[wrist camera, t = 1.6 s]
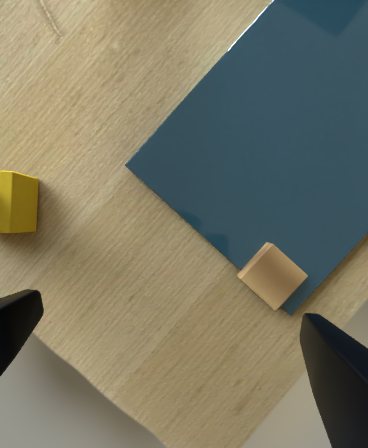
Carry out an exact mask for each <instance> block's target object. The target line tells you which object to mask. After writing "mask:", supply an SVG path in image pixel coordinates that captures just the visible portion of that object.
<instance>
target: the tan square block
mask: <svg viewBox="0 0 368 448" xmlns="http://www.w3.org/2000/svg"><path fill="white" fill-rule="evenodd" d="M237 276H238V277H239V278H240V280H242V281H243V282H244V283H245V284H246V285H247V286H248V287H249V288H250V289H251V290H253V291H254V292H255V293H256V294H257V295H258V296H259V297H260V298H261V299H262V300H264V301H265V302H266V303H267V304H268V305H269V306H270V307H271V308H272V309H273V310H275V311H276V310H277V309H278V308H279V307H280V306H281V305H282V304H283V303H284V302H285V301H286V299H287V298H288V297H289V296H290V295H291V294H292V293H293V292H294V291H295V290H296V289H297V288H298V286H299V285H300V284H301V283H302V282H303V281H304V280H305V279H306V278H307V277H308V275H307V274H306V273H305V272H303V271H302V270H301V269H300V268H299V267H298V266H297V265H296V264H295V263H294V262H292V261H291V260H290V259H289V258H288V257H287V256H286V255H285V254H284V253H283V252H281V251H280V250H279V249H278V248H277V247H276V246H275V245H274V244H272V243H268V242H267V243H266V244H265V245H264V246H263V247H262V248H261V249H260V250H259V251H258V252H257V253H256V254H255V256H254V257H253V258H252V259H251V260H250V261H249V262H248V263H247V264H246V265H245V266H244V268H243V269H242V270H241V271H240V272H239V273H238V274H237Z"/></svg>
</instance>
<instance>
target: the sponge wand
mask: <svg viewBox="0 0 368 448" xmlns="http://www.w3.org/2000/svg"><path fill="white" fill-rule="evenodd" d="M38 187H39V179H38V178H34V177H31V176H27V175H24V174H20V173H17V172H13V171H0V233H22V232H35V231H36V226H37V206H38Z"/></svg>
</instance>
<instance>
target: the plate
mask: <svg viewBox="0 0 368 448" xmlns="http://www.w3.org/2000/svg"><path fill="white" fill-rule="evenodd" d="M125 166H126V167H127V168H129V169H130V170H131V171H132V172H133V173H134V174H135V175H136V176H137V177H138V178H140V179H141V180H142V181H143V182H144V183H145V184H146V185H147V186H148V187H149V188H151V189H152V190H153V191H154V192H155V193H156V194H157V195H158V196H159V197H160V198H162V199H163V200H164V201H165V202H166V203H167V204H168V205H169V206H170V207H171V208H173V209H174V210H175V211H176V212H177V213H178V214H179V215H180V216H181V217H182V218H183V219H185V220H186V221H187V222H188V223H189V224H190V225H191V226H192V227H193V228H194V229H196V230H197V231H198V232H199V233H200V234H201V235H202V236H203V237H204V238H205V239H207V240H208V241H209V242H210V243H211V244H212V245H213V246H214V247H215V248H216V249H218V250H219V251H220V252H221V253H222V254H223V255H224V256H225V257H226V258H227V259H229V260H230V261H231V262H232V263H233V264H234V265H235V266H236V267H237V268H238V269H240V270H242V269H243V268H244V266H245V265H246V264H247V263H248V262H249V261H250V260H251V259H252V258H253V257H254V256H255V254H256V253H257V252H258V251H259V250H260V249H261V248H262V247H263V246H264V245H265V244H266V243H267V242H268V243H272V244H274V245H275V246H276V247H277V248H278V249H279V250H280V251H281V252H283V253H284V254H285V255H286V256H287V257H288V258H289V259H290V260H291V261H292V262H294V263H295V264H296V265H297V266H298V267H299V268H300V269H301V270H302V271H303V272H305V273H306V274H307V275H308V277H307V278H306V279H305V280H304V281H303V282H302V283H301V284H300V285H299V286H298V288H297V289H296V290H295V291H294V292H293V293H292V294H291V295H290V296H289V297H288V298H287V299H286V301H285V302H284V303H283V304H282V305H281V306H280V307H281V308H282V309H284V310H285V311H286V312H287V313H288V314H289V315H290V316H291V315H292V314H293V313H294V312H295V311H296V310H297V309H298V307H299V306H300V305H301V304H302V303H303V302H304V301H305V300H306V299H307V298H308V297H309V296H310V295H311V293H312V292H313V291H314V290H315V289H316V288H317V287H318V286H319V285H320V284H321V283H322V282H323V281H324V279H325V278H326V277H327V276H328V275H329V274H330V273H331V272H332V271H333V270H334V269H335V268H336V267H337V265H338V264H339V263H340V262H341V261H342V260H343V259H344V258H345V257H346V256H347V255H348V254H349V253H350V251H351V250H352V249H353V248H354V247H355V246H356V245H357V244H358V243H359V242H360V241H361V240H362V239H363V237H364V236H365V235H366V234H367V233H368V0H273V1H272V2H271V3H270V4H269V5H268V6H267V7H266V8H265V10H264V11H263V12H262V13H261V14H260V15H259V16H258V17H257V18H256V20H255V21H254V22H253V23H252V24H251V25H250V26H249V27H248V28H247V30H246V31H245V32H244V33H243V34H242V35H241V36H240V37H239V38H238V40H237V41H236V42H235V43H234V44H233V45H232V46H231V47H230V48H229V50H228V51H227V52H226V53H225V54H224V55H223V56H222V57H221V59H220V60H219V61H218V62H217V63H216V64H215V65H214V66H213V67H212V69H211V70H210V71H209V72H208V73H207V74H206V75H205V76H204V77H203V79H202V80H201V81H200V82H199V83H198V84H197V85H196V86H195V87H194V89H193V90H192V91H191V92H190V93H189V94H188V95H187V96H186V97H185V99H184V100H183V101H182V102H181V103H180V104H179V105H178V106H177V107H176V109H175V110H174V111H173V112H172V113H171V114H170V115H169V116H168V117H167V119H166V120H165V121H164V122H163V123H162V124H161V125H160V126H159V127H158V129H157V130H156V131H155V132H154V133H153V134H152V135H151V136H150V138H149V139H148V140H147V141H146V142H145V143H144V144H143V145H142V146H141V148H140V149H139V150H138V151H137V152H136V153H135V154H134V155H133V156H132V158H131V159H130V160H129V161H128V162H127V163H126V164H125Z"/></svg>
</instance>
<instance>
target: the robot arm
mask: <svg viewBox="0 0 368 448" xmlns="http://www.w3.org/2000/svg"><path fill="white" fill-rule="evenodd" d="M43 312H44V308H43V303H42V298H41V294H40V292H39V291H38V290H30V289H27V290H23V291H20V292H17V293H14V294H12V295H9V296H6V297H3V298H0V376H1V375H2V374H3V372H4V371H5V370H6V368H7V367H8V366H9V365H10V363H11V362H12V361H13V359H14V358H15V357H16V355H17V354H18V352H19V351H20V350H21V348H22V346H23V345H24V343H25V342H26V340H27V339H28V337H29V336H30V334H31V333H32V331H33V330H34V328H35V327H36V325H37V324H38V322H39V321H40V319H41V318H42V316H43ZM300 344H301V348H302V352H303V356H304V360H305V364H306V368H307V372H308V376H309V380H310V384H311V388H312V392H313V395H314V398H315V401H316V404H317V407H318V410H319V413H320V415H321V418H322V421H323V423H324V426H325V429H326V432H327V434H328V438H329V440H330V443H331V446H332V448H368V348H366V347H365V346H363V345H362V344H360V343H359V342H358V341H356V340H355V339H354V338H352V337H351V336H349V335H348V334H346V333H345V332H344V331H342V330H341V329H339V328H338V327H337V326H335V325H334V324H332V323H331V322H329V321H328V320H327V319H325V318H324V317H322V316H321V315H319V314H313V313H305V314H304V315H303V318H302V324H301V330H300Z"/></svg>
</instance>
